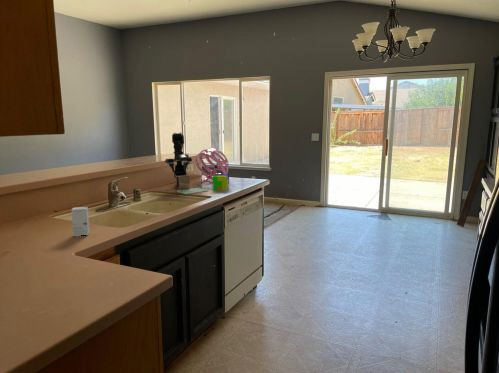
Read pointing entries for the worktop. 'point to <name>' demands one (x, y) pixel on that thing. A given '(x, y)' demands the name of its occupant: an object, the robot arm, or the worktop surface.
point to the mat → (191, 191)
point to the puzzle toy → (221, 182)
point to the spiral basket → (216, 167)
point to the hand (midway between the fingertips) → (179, 172)
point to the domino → (184, 182)
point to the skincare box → (80, 221)
